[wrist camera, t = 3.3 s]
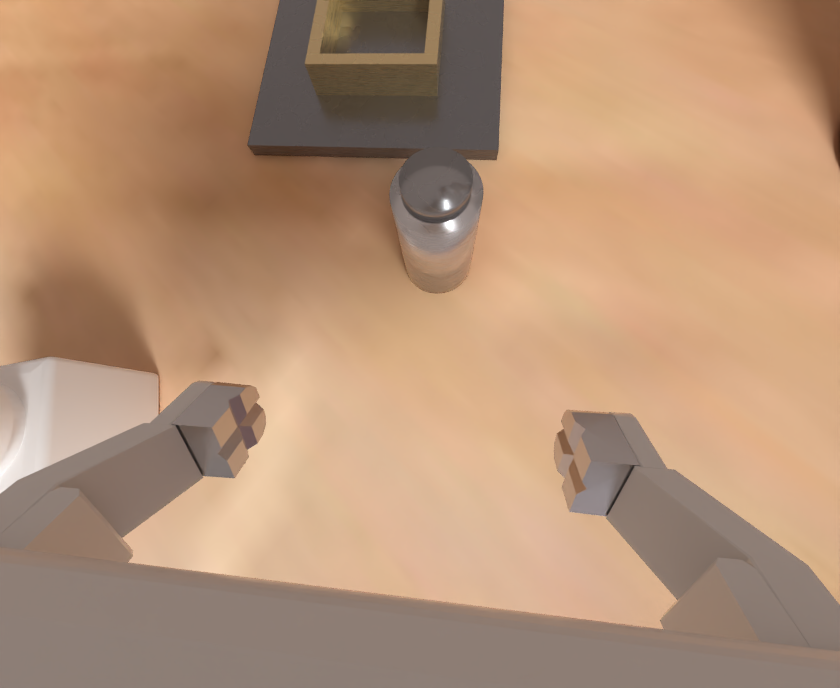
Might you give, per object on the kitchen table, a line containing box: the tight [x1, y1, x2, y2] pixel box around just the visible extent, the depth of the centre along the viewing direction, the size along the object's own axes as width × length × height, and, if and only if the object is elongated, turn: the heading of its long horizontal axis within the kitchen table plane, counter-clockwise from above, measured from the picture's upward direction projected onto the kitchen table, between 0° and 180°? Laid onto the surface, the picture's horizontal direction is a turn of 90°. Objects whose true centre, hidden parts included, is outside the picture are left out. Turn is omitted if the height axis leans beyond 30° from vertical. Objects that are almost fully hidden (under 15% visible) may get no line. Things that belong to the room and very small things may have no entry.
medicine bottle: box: [0, 357, 159, 493], centre depth 18 cm, size 7×7×12 cm
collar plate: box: [248, 0, 504, 160], centre depth 28 cm, size 20×20×4 cm
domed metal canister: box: [390, 147, 483, 293], centre depth 21 cm, size 5×5×9 cm
